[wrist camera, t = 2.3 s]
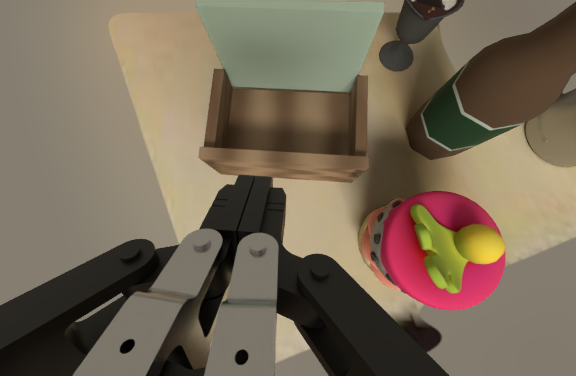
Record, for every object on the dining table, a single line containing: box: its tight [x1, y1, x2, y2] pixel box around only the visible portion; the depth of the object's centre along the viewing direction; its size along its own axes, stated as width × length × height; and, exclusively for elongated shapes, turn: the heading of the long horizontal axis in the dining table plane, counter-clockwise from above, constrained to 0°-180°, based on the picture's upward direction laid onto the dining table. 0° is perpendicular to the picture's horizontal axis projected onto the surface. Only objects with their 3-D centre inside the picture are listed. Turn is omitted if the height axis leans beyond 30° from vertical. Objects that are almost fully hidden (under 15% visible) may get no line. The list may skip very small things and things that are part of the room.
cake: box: [358, 191, 505, 310], centre depth 24 cm, size 10×11×15 cm
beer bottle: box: [406, 2, 576, 160], centre depth 22 cm, size 8×8×24 cm
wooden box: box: [198, 69, 369, 182], centre depth 30 cm, size 18×11×8 cm, turn 86°
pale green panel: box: [196, 0, 384, 92], centre depth 27 cm, size 16×2×12 cm, turn 86°
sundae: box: [379, 0, 464, 71], centre depth 29 cm, size 7×7×15 cm
